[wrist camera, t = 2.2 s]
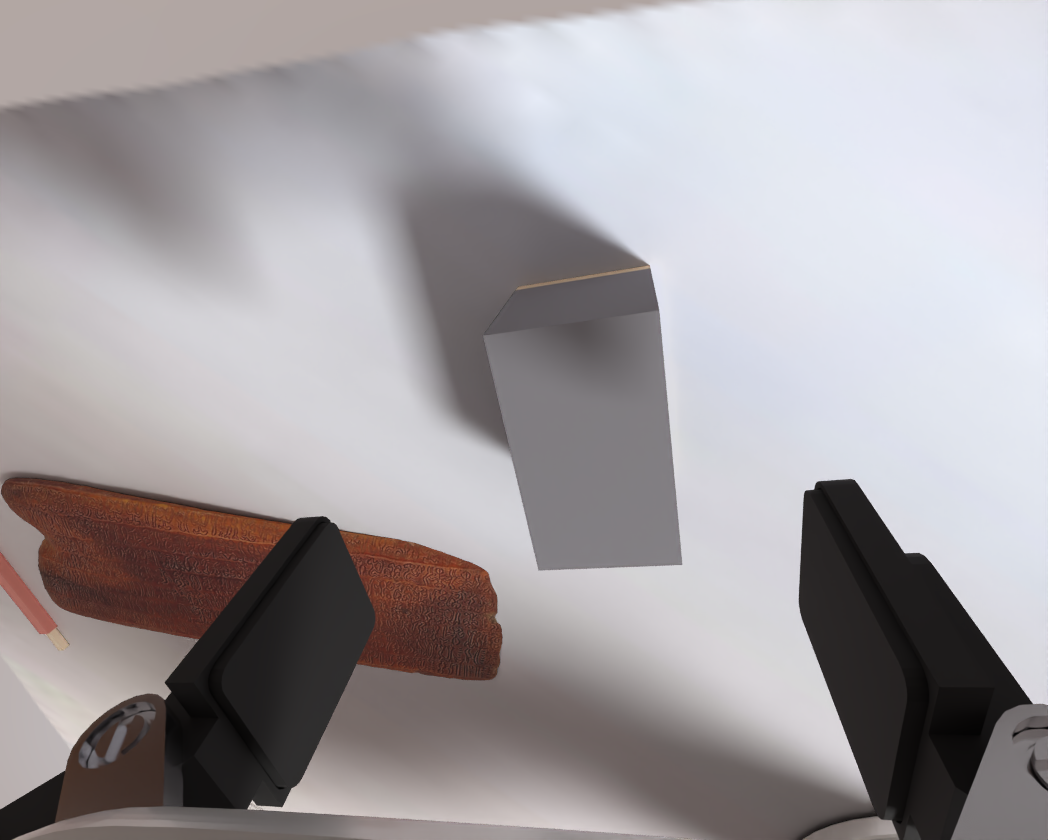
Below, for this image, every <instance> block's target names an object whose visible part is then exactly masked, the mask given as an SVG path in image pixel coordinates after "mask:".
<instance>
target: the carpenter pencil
mask: <svg viewBox="0 0 1048 840" xmlns="http://www.w3.org/2000/svg"><path fill="white" fill-rule="evenodd" d="M0 585H1V586H2V587H3V588H4V590H5V591H6V592H7V594H8V595H9V596H10V597H11V599H12V600H13V601H14V602H15V604H16V605H17V606H18V607H19V609H20V610H21V611H22V612H23V614H24V615H25V616H26V617H27V619H28V620H29V621H30V622H31V624H32V625H33V626H34V627H35V629H36V630H37V631H38V632H39V634H46V635H47V636H48V638H49V639H50V640H51V641H52V643H53V644H54V645H55V646H56V648H57V649H58V650H63V651H64V650H65V649H66V648H67V647H68V646H69V644H68V643H67V641H66V640H65V639H64V638H63V636H62V635H61V634H60V632H59V631H58V630H57V628H56V627H57V625H56V624H55V622H54V621H53V620H52V618H51V617H50V616H49V614H48V613H47V612H46V611H45V609H44V608H43V607H42V605H41V604H40V603H39V601H38V600H37V599H36V598H35V596H34V595H33V594H32V592H31V591H30V590H29V589H28V587H27V586H26V585H25V583H24V582H23V581H22V579H21V578H20V577H19V576H18V574H17V573H16V572H15V570H14V569H13V568H12V566H11V565H10V564H9V563H8V561H7V560H6V559H5V557H4V556H3V555H2V553H1V552H0Z"/></svg>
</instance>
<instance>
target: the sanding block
mask: <svg viewBox="0 0 1048 840" xmlns="http://www.w3.org/2000/svg"><path fill="white" fill-rule="evenodd" d="M483 339H484V343H485V347H486V351H487V355H488V360H489V364H490V368H491V372H492V376H493V381H494V385H495V389H496V393H497V397H498V402H499V406H500V410H501V414H502V419H503V423H504V427H505V431H506V435H507V440H508V444H509V448H510V452H511V456H512V461H513V465H514V469H515V473H516V477H517V482H518V486H519V490H520V494H521V498H522V503H523V507H524V511H525V515H526V519H527V524H528V528H529V532H530V536H531V540H532V545H533V549H534V553H535V557H536V561H537V566H538V570H561V569H587V568H613V567H639V566H665V565H682V557H681V545H680V534H679V523H678V512H677V501H676V490H675V479H674V468H673V457H672V446H671V435H670V424H669V413H668V402H667V391H666V380H665V369H664V358H663V346H662V335H661V324H660V313H659V307H658V302H657V297H656V293H655V288H654V283H653V279H652V274H651V269H650V265H648V266H642V267H636V268H629V269H623V270H617V271H611V272H605V273H599V274H593V275H587V276H581V277H575V278H569V279H563V280H556V281H550V282H544V283H538V284H532V285H526V286H520V287H518V288H517V289H516V290H515V292H514V293H513V295H512V296H511V297H510V299H509V300H508V302H507V303H506V304H505V306H504V307H503V308H502V310H501V311H500V313H499V314H498V315H497V317H496V318H495V320H494V321H493V322H492V324H491V325H490V327H489V328H488V329H487V331H486V332H485V334H484V335H483Z"/></svg>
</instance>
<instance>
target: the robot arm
mask: <svg viewBox="0 0 1048 840" xmlns="http://www.w3.org/2000/svg"><path fill="white" fill-rule="evenodd" d="M799 607H800V613H801V617H802V620H803V623H804V625H805V628H806V631H807V633H808V636H809V638H810V641H811V644H812V646H813V649H814V652H815V654H816V657H817V660H818V662H819V665H820V668H821V670H822V673H823V675H824V678H825V681H826V683H827V686H828V689H829V691H830V694H831V697H832V699H833V702H834V705H835V707H836V710H837V712H838V715H839V718H840V720H841V723H842V726H843V728H844V731H845V734H846V736H847V739H848V741H849V744H850V747H851V749H852V752H853V755H854V757H855V760H856V763H857V765H858V768H859V771H860V773H861V776H862V778H863V781H864V784H865V786H866V789H867V792H868V794H869V797H870V800H871V802H872V805H873V807H874V810H875V812H876V814H877V815H878V816H874V817H867V818H860V819H853V820H849V821H845V822H841V823H837V824H833V825H830V826H828V827H826V828H823V829H821V830H818V831H816V832H814V833H812V834H810V835H809V836H807V837H806V838H804V839H802V840H1048V705H1045V704H1033V703H1032V702H1031V701H1030V699H1029V698H1028V697H1027V695H1026V694H1025V692H1024V691H1023V690H1022V688H1021V687H1020V685H1019V684H1018V683H1017V681H1016V680H1015V678H1014V677H1013V676H1012V674H1011V673H1010V672H1009V670H1008V669H1007V667H1006V666H1005V665H1004V663H1003V662H1002V660H1001V659H1000V658H999V656H998V655H997V653H996V652H995V651H994V649H993V648H992V647H991V645H990V644H989V642H988V641H987V640H986V638H985V637H984V635H983V634H982V633H981V631H980V630H979V629H978V627H977V626H976V624H975V623H974V622H973V620H972V619H971V617H970V616H969V615H968V613H967V612H966V610H965V609H964V608H963V606H962V605H961V604H960V602H959V601H958V599H957V598H956V597H955V595H954V594H953V592H952V591H951V590H950V588H949V587H948V586H947V584H946V583H945V581H944V580H943V579H942V577H941V576H940V574H939V573H938V572H937V570H936V569H935V567H934V566H933V565H932V563H931V562H930V561H929V560H928V559H927V558H926V557H925V556H924V555H922V554H920V553H906V554H905V553H904V552H903V550H902V549H901V547H900V546H899V544H898V543H897V541H896V540H895V539H894V537H893V536H892V534H891V533H890V531H889V530H888V528H887V527H886V525H885V524H884V522H883V521H882V519H881V518H880V516H879V515H878V513H877V512H876V510H875V509H874V507H873V506H872V504H871V503H870V501H869V500H868V499H867V497H866V496H865V494H864V493H863V491H862V490H861V488H860V487H859V485H858V484H857V483H856V481H855V480H853V479H845V480H831V481H818V482H817V483H816V485H815V489H814V490H806V491H805V493H804V502H803V523H802V543H801V563H800V584H799ZM375 618H376V616H375V611H374V608H373V606H372V603H371V601H370V599H369V597H368V594H367V592H366V590H365V588H364V585H363V583H362V581H361V578H360V576H359V574H358V572H357V569H356V567H355V565H354V563H353V560H352V558H351V556H350V554H349V551H348V549H347V547H346V545H345V542H344V540H343V538H342V536H341V533H340V531H339V529H338V527H337V525H336V524H335V523H331V522H330V520H329V519H328V518H327V517H323V516H320V517H306V518H299V519H297V520H296V521H295V522H294V523H293V524H292V525H291V526H290V527H289V529H288V530H287V531H286V532H285V534H284V535H283V536H282V537H281V539H280V540H279V541H278V542H277V544H276V545H275V546H274V547H273V549H272V550H271V551H270V552H269V554H268V555H267V556H266V557H265V559H264V560H263V561H262V562H261V563H260V565H259V566H258V567H257V568H256V570H255V571H254V572H253V573H252V575H251V576H250V577H249V578H248V580H247V581H246V582H245V583H244V585H243V586H242V587H241V588H240V590H239V591H238V592H237V593H236V595H235V596H234V597H233V598H232V600H231V601H230V602H229V603H228V604H227V606H226V607H225V608H224V609H223V611H222V612H221V613H220V614H219V616H218V617H217V618H216V619H215V621H214V622H213V623H212V624H211V626H210V627H209V628H208V629H207V631H206V632H205V633H204V634H203V636H202V637H201V638H200V639H199V641H198V642H197V643H196V644H195V645H194V647H193V648H192V649H191V650H190V652H189V653H188V654H187V655H186V657H185V658H184V659H183V660H182V662H181V663H180V664H179V665H178V667H177V668H176V669H175V670H174V672H173V673H172V674H171V675H170V677H169V678H168V679H167V680H166V682H165V684H166V685H167V686H168V688H169V689H170V690H171V694H170V695H169V696H168V697H167V699H166V700H164V699H163V698H161V697H160V696H159V695H156V694H144V695H139V696H135V697H133V698H130V699H128V700H126V701H123V702H121V703H120V704H118V705H116V706H115V707H113V708H111V709H110V710H108V711H107V712H106V713H104V714H103V715H102V716H101V717H99V718H98V719H97V720H96V721H95V722H93V723H92V724H91V725H90V727H89V728H88V729H87V730H86V731H85V732H84V733H83V734H82V735H81V736H80V738H79V739H78V741H77V742H76V744H75V745H74V747H73V748H72V750H71V753H70V756H69V758H68V761H67V766H66V770H65V771H64V772H62V773H60V774H59V775H57V776H55V777H54V778H52V779H50V780H49V781H47V782H45V783H44V784H42V785H41V786H39V787H37V788H35V789H34V790H32V791H30V792H29V793H27V794H25V795H24V796H22V797H20V798H19V799H17V800H16V801H14V802H12V803H10V804H9V805H7V806H5V807H4V808H2V809H0V840H702V839H688V838H674V837H660V836H646V835H632V834H618V833H604V832H590V831H576V830H562V829H548V828H533V827H518V826H503V825H488V824H472V823H457V822H442V821H427V820H411V819H396V818H380V817H364V816H348V815H331V814H314V813H297V812H280V811H263V810H247V809H248V807H249V805H250V803H251V801H252V800H253V801H254V802H255V804H256V805H258V806H274V807H283V805H284V803H285V801H286V799H287V796H288V794H289V792H290V790H291V788H293V787H295V786H296V785H297V784H298V783H299V782H300V780H301V779H302V777H303V775H304V773H305V771H306V769H307V767H308V765H309V762H310V760H311V758H312V756H313V754H314V752H315V750H316V748H317V746H318V744H319V742H320V739H321V737H322V735H323V733H324V731H325V729H326V727H327V725H328V723H329V721H330V719H331V716H332V714H333V712H334V710H335V708H336V706H337V704H338V702H339V700H340V698H341V695H342V693H343V691H344V689H345V687H346V685H347V683H348V681H349V679H350V677H351V675H352V672H353V670H354V668H355V666H356V664H357V662H358V660H359V658H360V656H361V654H362V652H363V649H364V647H365V645H366V643H367V641H368V639H369V637H370V635H371V633H372V631H373V628H374V626H375Z"/></svg>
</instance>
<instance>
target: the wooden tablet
mask: <svg viewBox="0 0 1048 840" xmlns="http://www.w3.org/2000/svg"><path fill="white" fill-rule="evenodd" d="M1 494H2V496H3V498H4V500H5V501H6V503H7V504H8V506H9V507H10V508H11V509H12V510H13V511H14V512H15V513H16V514H17V515H18V516H19V517H21V518H22V519H23V520H24V521H26V522H28V523H29V524H31V525H32V526H34V527H35V528H36V529H38V530H39V531H40V532H41V533H42V534H43V535H44V536H45V539H44V540H43V541H42V545H41V546H40V549H39V559H38V562H39V564H38V567H39V570H40V574H41V576H42V580H43V584H44V586H45V589H46V590H47V592H48V594H49V595H50V597H51V599H52V600H53V601H54V602H55V603H56V604H57V605H58V606H59V607H61V608H62V609H64V610H67V611H69V612H72V613H75V614H79V615H82V616H85V617H91V618H94V619H98V620H103V621H107V622H111V623H116V624H120V625H125V626H130V627H136V628H140V629H146V630H151V631H157V632H163V633H168V634H172V635H177V636H183V637H189V638H194V639H200V638H201V637H202V636H203V634H204V633H205V632H206V631H207V629H208V628H209V627H210V626H211V624H212V623H213V622H214V621H215V619H216V618H217V617H218V616H219V614H220V613H221V612H222V611H223V609H224V608H225V607H226V606H227V604H228V603H229V602H230V601H231V600H232V598H233V597H234V596H235V595H236V593H237V592H238V591H239V590H240V588H241V587H242V586H243V585H244V583H245V582H246V581H247V580H248V578H249V577H250V576H251V575H252V573H253V572H254V571H255V570H256V568H257V567H258V566H259V565H260V563H261V562H262V561H263V560H264V559H265V557H266V556H267V555H268V554H269V552H270V551H271V550H272V549H273V547H274V546H275V545H276V544H277V542H278V541H279V540H280V539H281V537H282V536H283V535H284V534H285V532H286V531H287V530H288V529H289V527H290V526H291V525H292V524H288V523H282V522H277V521H268V520H263V519H258V518H250V517H245V516H238V515H232V514H226V513H221V512H215V511H205V510H202V509H198V508H194V507H189V506H183V505H179V504H174V503H168V502H162V501H157V500H152V499H146V498H141V497H136V496H131V495H124V494H120V493H116V492H111V491H106V490H101V489H97V488H93V487H88V486H82V485H75V484H71V483H66V482H59V481H50V480H43V479H36V478H35V479H30V478H13V479H8V480H6V481H5V483H4V484H3V486H2V489H1ZM340 533H341V536H342V538H343V540H344V542H345V545H346V547H347V549H348V551H349V554H350V556H351V558H352V560H353V563H354V565H355V567H356V569H357V572H358V574H359V576H360V578H361V581H362V583H363V585H364V588H365V590H366V592H367V594H368V597H369V599H370V601H371V603H372V606H373V608H374V611H375V616H376V618H375V626H374V628H373V631H372V633H371V635H370V637H369V639H368V641H367V643H366V645H365V647H364V649H363V652H362V654H361V656H360V658H359V660H358V662H357V664H360V665H366V666H371V667H378V668H386V669H391V670H398V671H403V672H409V673H414V672H418V673H421V674H424V675H432V676H439V677H446V678H456V679H462V680H490V679H493V678H494V677H495V676H496V675H497V668H498V666H499V663H500V657H499V654H500V649H501V645H502V638H503V637H502V629H501V626H500V624H498V623H497V621H496V619H495V615H496V614H497V595H496V593H495V591H494V589H493V587H492V585H491V582H490V578H489V574H488V573H487V571H485V570H484V569H482V568H481V567H479V566H477V565H475V564H473V563H471V562H467V561H464V560H462V559H459V558H457V557H454V556H451V555H448V554H446V553H443V552H441V551H437V550H434V549H431V548H428V547H426V546H422V545H419V544H416V543H412V542H407V541H402V540H398V539H392V538H385V537H378V536H372V535H366V534H357V533H352V532H346V531H340Z"/></svg>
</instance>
